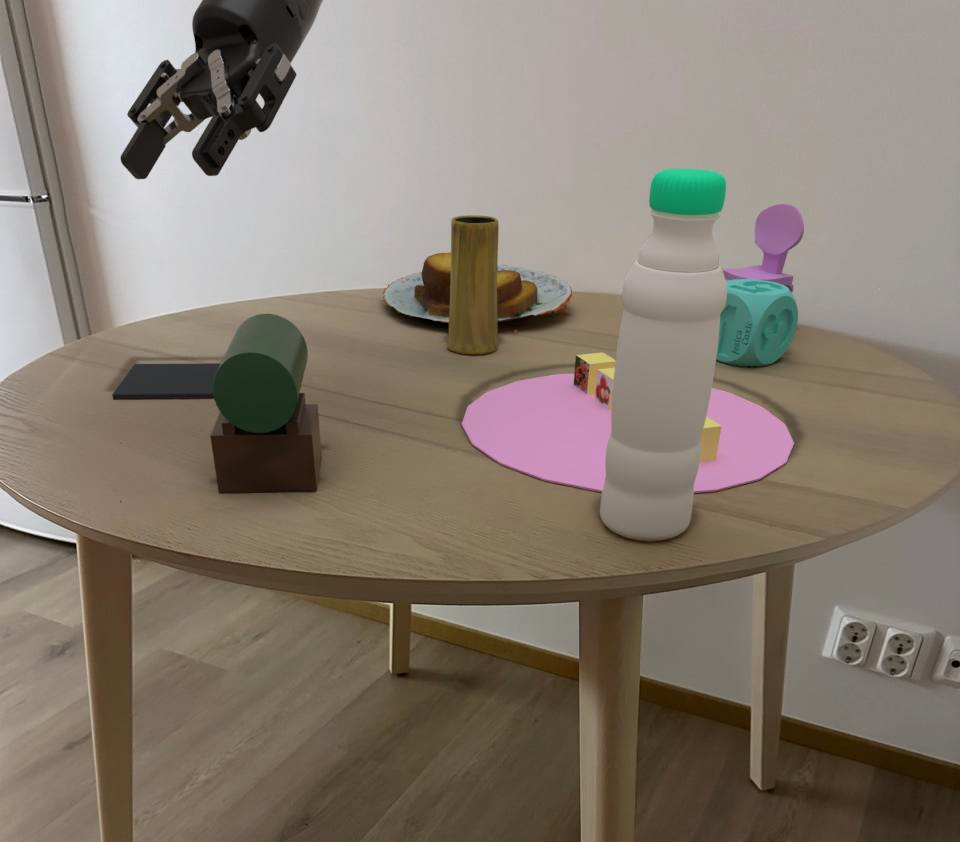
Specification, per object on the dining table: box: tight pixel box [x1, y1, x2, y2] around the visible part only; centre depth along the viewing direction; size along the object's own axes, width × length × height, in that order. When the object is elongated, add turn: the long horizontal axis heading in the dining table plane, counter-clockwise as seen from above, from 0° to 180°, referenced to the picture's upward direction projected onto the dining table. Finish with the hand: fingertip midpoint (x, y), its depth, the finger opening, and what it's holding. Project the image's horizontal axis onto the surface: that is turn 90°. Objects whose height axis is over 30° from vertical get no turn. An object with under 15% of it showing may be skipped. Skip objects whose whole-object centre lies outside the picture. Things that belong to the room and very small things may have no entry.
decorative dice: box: [716, 279, 799, 368], centre depth 108 cm, size 8×8×8 cm
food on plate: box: [382, 252, 573, 333], centre depth 124 cm, size 25×25×7 cm
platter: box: [461, 351, 795, 494], centre depth 89 cm, size 32×32×3 cm
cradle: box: [209, 392, 323, 494], centre depth 77 cm, size 8×7×6 cm
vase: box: [446, 214, 500, 356], centre depth 107 cm, size 6×6×14 cm
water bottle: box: [599, 167, 727, 542], centre depth 66 cm, size 7×7×25 cm
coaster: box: [111, 362, 221, 400], centre depth 98 cm, size 10×10×1 cm
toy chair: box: [722, 203, 805, 294], centre depth 114 cm, size 8×9×15 cm
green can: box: [213, 313, 309, 433], centre depth 76 cm, size 6×11×6 cm, turn 5°
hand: (166, 169), depth 70 cm, fingers open, 8 cm apart
